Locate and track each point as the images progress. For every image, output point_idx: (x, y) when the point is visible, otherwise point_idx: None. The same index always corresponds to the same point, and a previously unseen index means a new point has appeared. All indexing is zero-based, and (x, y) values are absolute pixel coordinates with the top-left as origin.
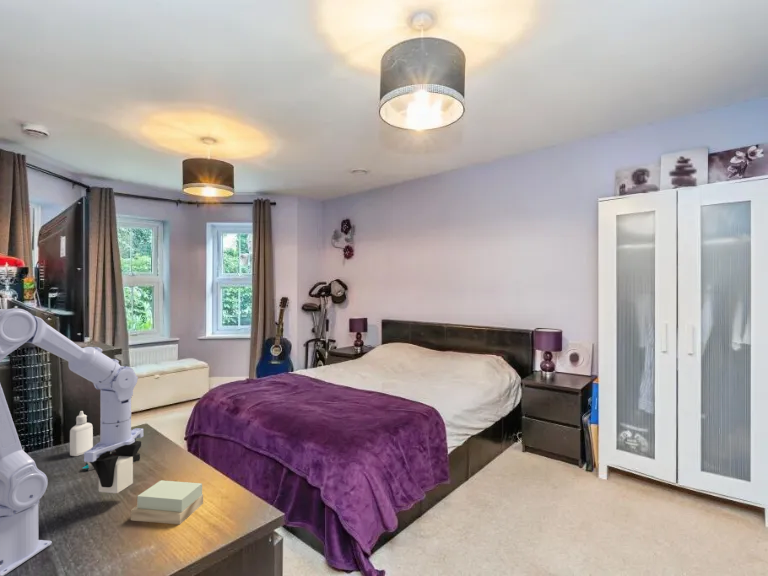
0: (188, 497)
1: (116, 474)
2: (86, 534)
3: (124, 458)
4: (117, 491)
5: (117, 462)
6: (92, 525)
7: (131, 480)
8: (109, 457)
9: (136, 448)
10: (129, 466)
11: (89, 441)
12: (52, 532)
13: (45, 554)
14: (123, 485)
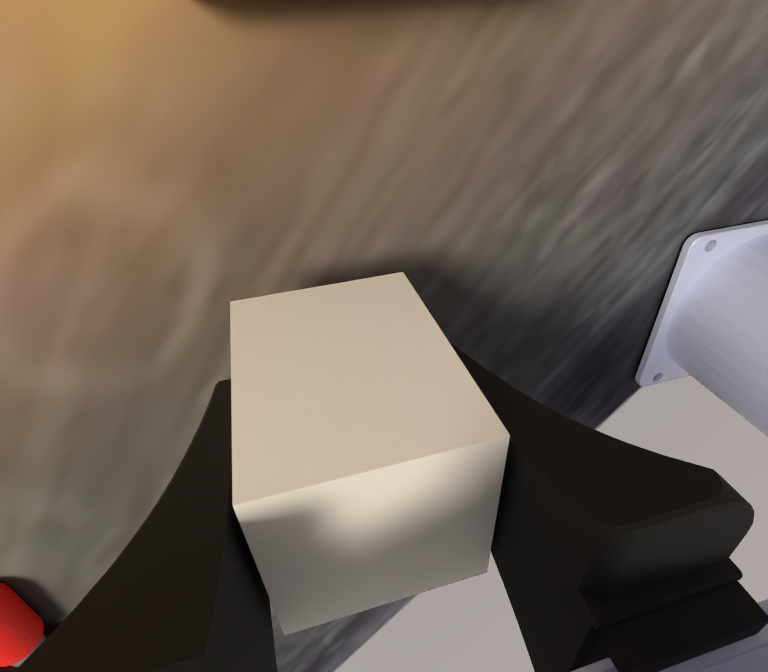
0: None
1: (460, 371)
2: (630, 148)
3: (314, 530)
4: (404, 278)
5: (433, 495)
6: (550, 198)
7: (248, 316)
8: (683, 554)
9: (154, 627)
10: (288, 409)
11: None
12: (591, 319)
13: (750, 189)
14: (348, 297)
